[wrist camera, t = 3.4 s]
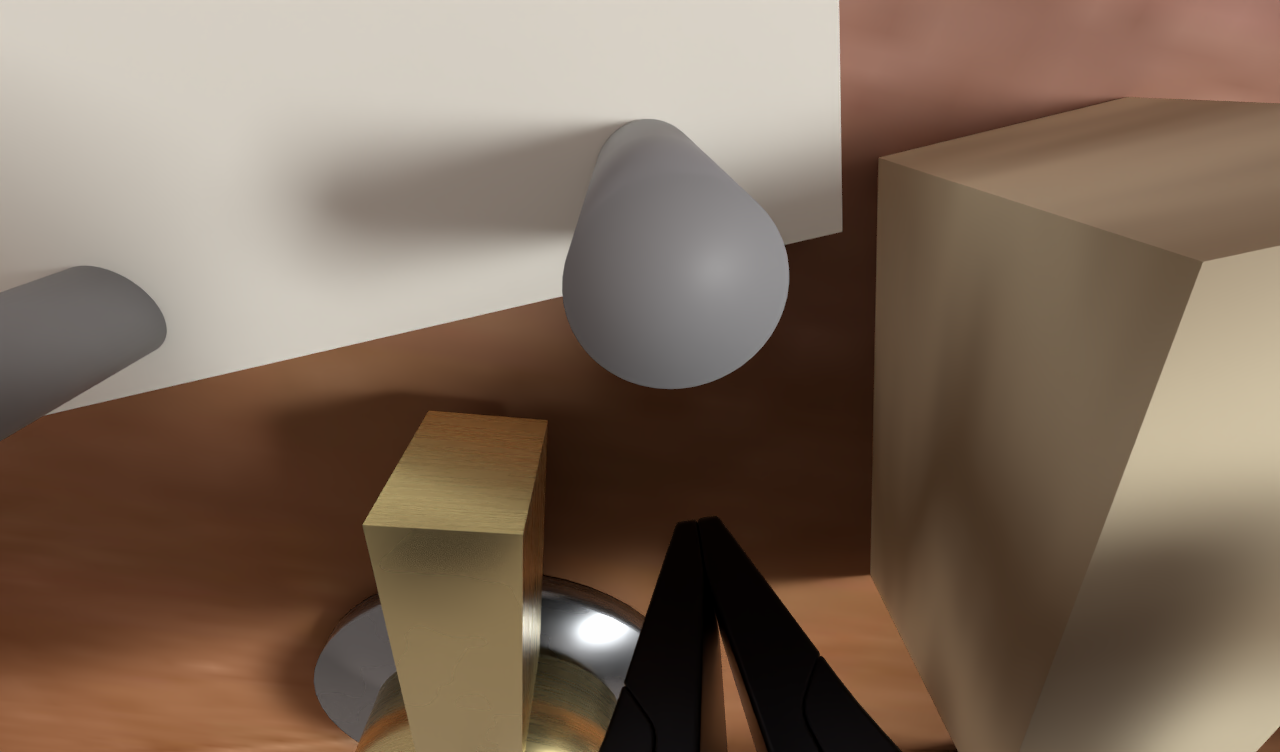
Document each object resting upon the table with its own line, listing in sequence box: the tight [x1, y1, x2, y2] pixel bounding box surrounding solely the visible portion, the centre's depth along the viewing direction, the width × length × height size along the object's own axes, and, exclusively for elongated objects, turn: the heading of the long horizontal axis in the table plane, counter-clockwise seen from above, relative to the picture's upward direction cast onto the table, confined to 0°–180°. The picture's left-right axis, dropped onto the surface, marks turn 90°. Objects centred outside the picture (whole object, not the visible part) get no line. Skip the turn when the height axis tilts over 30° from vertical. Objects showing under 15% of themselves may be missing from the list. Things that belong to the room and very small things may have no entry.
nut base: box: [314, 576, 645, 742], centre depth 14 cm, size 10×10×1 cm
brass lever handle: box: [355, 411, 617, 752], centre depth 11 cm, size 14×7×3 cm, turn 173°
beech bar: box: [870, 97, 1280, 752], centre depth 8 cm, size 10×4×5 cm, turn 13°
